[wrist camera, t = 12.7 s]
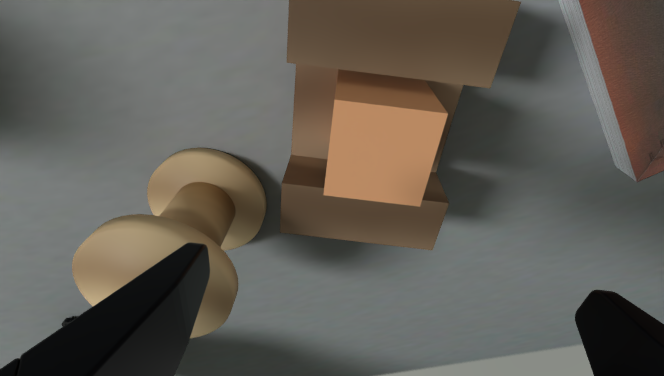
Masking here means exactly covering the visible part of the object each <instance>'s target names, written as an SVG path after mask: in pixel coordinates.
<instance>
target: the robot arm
mask: <svg viewBox="0 0 664 376" xmlns="http://www.w3.org/2000/svg"><path fill="white" fill-rule="evenodd" d="M209 277H210V263H209V254H208V248H207V245H205V244H202V243H193V242H189V243H186V244H184V245H183V246H181V247H180V248H179V249H177V250H176V251H174V252H173V253H171V254H170V255H168V256H167V257H165V258H164V259H162V260H161V261H159V262H158V263H156V264H155V265H153V266H152V267H150V268H149V269H148V270H146V271H145V272H143V273H142V274H140V275H139V276H137V277H136V278H134V279H133V280H131V281H130V282H128V283H127V284H125V285H124V286H122V287H121V288H120V289H118V290H117V291H115V292H114V293H112V294H111V295H109V296H108V297H106V298H105V299H103V300H102V301H100V302H99V303H97V304H96V305H94V306H93V307H91V308H90V309H89V310H87V311H86V312H84V313H83V314H81V315H80V316H78V317H77V318H66V319H65V320H64V321H63V323H62V326H63V327H62V328H60V329H59V330H58V331H56V332H55V333H53V334H52V335H50V336H49V337H47V338H46V339H44V340H43V341H41V342H40V343H38V344H37V345H35V346H34V347H32V348H31V349H29V350H28V351H27V352H25V353H24V354H22V355H21V357H20V359H19V358H17V359H14V360H13V361H11V362H10V363H9V364H7V365H6V366H4V367H3V368H1V369H0V376H174V374H175V372H176V370H177V368H178V365H179V363H180V361H181V359H182V356H183V354H184V352H185V349H186V347H187V345H188V342H189V339H190V336H191V333H192V330H193V327H194V324H195V321H196V318H197V315H198V312H199V309H200V306H201V302H202V299H203V296H204V293H205V290H206V287H207V284H208V281H209ZM575 321H576V325H577V328H578V331H579V333H580V336H581V339H582V342H583V345H584V348H585V351H586V354H587V357H588V360H589V362H590V365H591V368H592V371H593V374H594V376H664V324H662V323H661V322H659V321H658V320H656V319H655V318H653V317H652V316H650V315H649V314H647V313H646V312H644V311H643V310H641V309H640V308H638V307H637V306H635V305H634V304H632V303H631V302H629V301H628V300H626V299H625V298H623V297H622V296H620V295H619V294H617V293H615V292H612V291H605V290H594V291H592V292H591V293H590V294H589V295H588V296H587V298H586V299H585V300H584V302H583V303H582V304H581V306H580V307H579V308H578V310H577V311H576V314H575Z"/></svg>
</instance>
